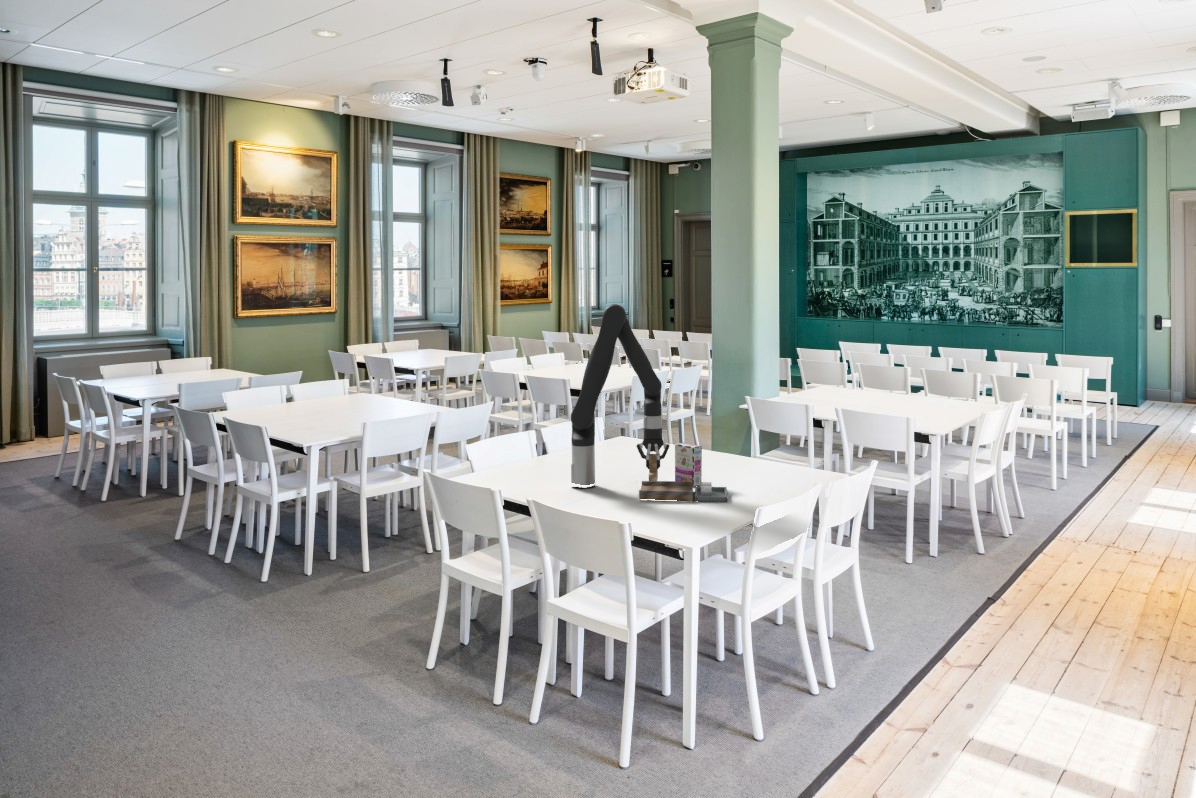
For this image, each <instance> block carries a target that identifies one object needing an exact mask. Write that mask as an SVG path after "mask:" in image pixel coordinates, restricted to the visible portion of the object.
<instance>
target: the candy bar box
mask: <svg viewBox="0 0 1196 798" xmlns="http://www.w3.org/2000/svg"><path fill="white" fill-rule="evenodd" d="M702 449H703V447H702V445H697V444H692V443H685V442H679V443H674V481H682V482H693V488H695V487H696V486H698V487H701V482H702V476H703V475H702V472H703V471H702V469H703V468H702V465H703V464H702V463H703V462H702V461H703V460H702V457H703V456H702V451H703V450H702Z"/></svg>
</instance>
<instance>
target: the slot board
mask: <svg viewBox="0 0 1196 798" xmlns="http://www.w3.org/2000/svg"><path fill="white" fill-rule="evenodd" d="M693 496H694V487H693V482H682V481H675V480H673V481H668V480H663V481H662V480H657V481H649V480H642V481H641V488H640V489H639V490H638V500H639V499H655V500H677V501H692V502H693Z"/></svg>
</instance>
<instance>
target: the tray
mask: <svg viewBox="0 0 1196 798" xmlns="http://www.w3.org/2000/svg"><path fill="white" fill-rule="evenodd" d="M694 491H695V492H694V502H695V501H698V502H697V503H728V491H727V486H712V497H711V496H701V486H698V487H694Z"/></svg>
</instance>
